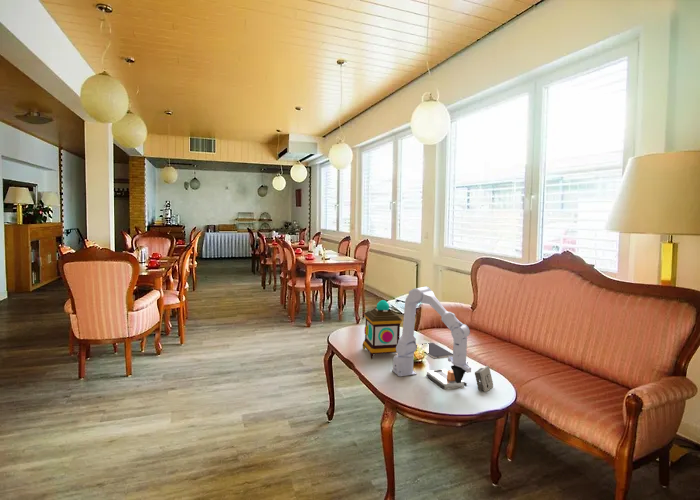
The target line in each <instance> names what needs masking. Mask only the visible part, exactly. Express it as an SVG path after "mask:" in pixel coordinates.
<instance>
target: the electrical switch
mask: <svg viewBox="0 0 700 500" xmlns="http://www.w3.org/2000/svg"><path fill="white" fill-rule="evenodd" d="M474 376H475V381H476V385H477V389H478V391H483V392H484V393H487V392H488V391H490V389H491V388H492V387H494V382H493V378H492V373H491V369H490V366H489V365H486V366H485V367H480V368H478V370H476V371H474Z"/></svg>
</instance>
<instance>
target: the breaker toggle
mask: <svg viewBox="0 0 700 500" xmlns="http://www.w3.org/2000/svg"><path fill="white" fill-rule="evenodd" d="M447 379H448V380H449V381H453V380H455V377H454V373H453V370H452V369H450V370H449V369H448V371H447Z"/></svg>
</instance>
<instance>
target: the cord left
mask: <svg viewBox="0 0 700 500" xmlns="http://www.w3.org/2000/svg"><path fill="white" fill-rule="evenodd" d="M425 375H426V376H425V377H426V378H427V379H429V380H431V381H432V382H433V383H434V384H435V385H437V386H439V387H440V388H441V389H444V386H443V385H441V384H440V383H439V382H437V381H436V380H435V379H433V378H432V377H431V376H429V375H428V374H427V373H426V374H425ZM444 390H445V389H444Z"/></svg>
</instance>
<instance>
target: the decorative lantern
mask: <svg viewBox="0 0 700 500" xmlns="http://www.w3.org/2000/svg"><path fill="white" fill-rule="evenodd" d="M363 315H364V319H365V325H364V340H363V342H362V349H363V350H365V349H366V351H368V352H369V354H370V356H369V357H370V359H371V360H374V356H375V355H383V354H396V353H397V352H396V346H397V344H398V340H399V339H400V337H401V331H400V330H401V323H403V322H402V321H403V319H402V318H401V317H400V316H399V315H398V314H397V313H395V312H393V310H392V309H390V304H389V302H388V301H386V300H385V299H382V300H379V301H378V302H377V304H376V307H374V308H373V309H371V310H367V311H365V312H364V313H363ZM397 354H398V353H397Z"/></svg>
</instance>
